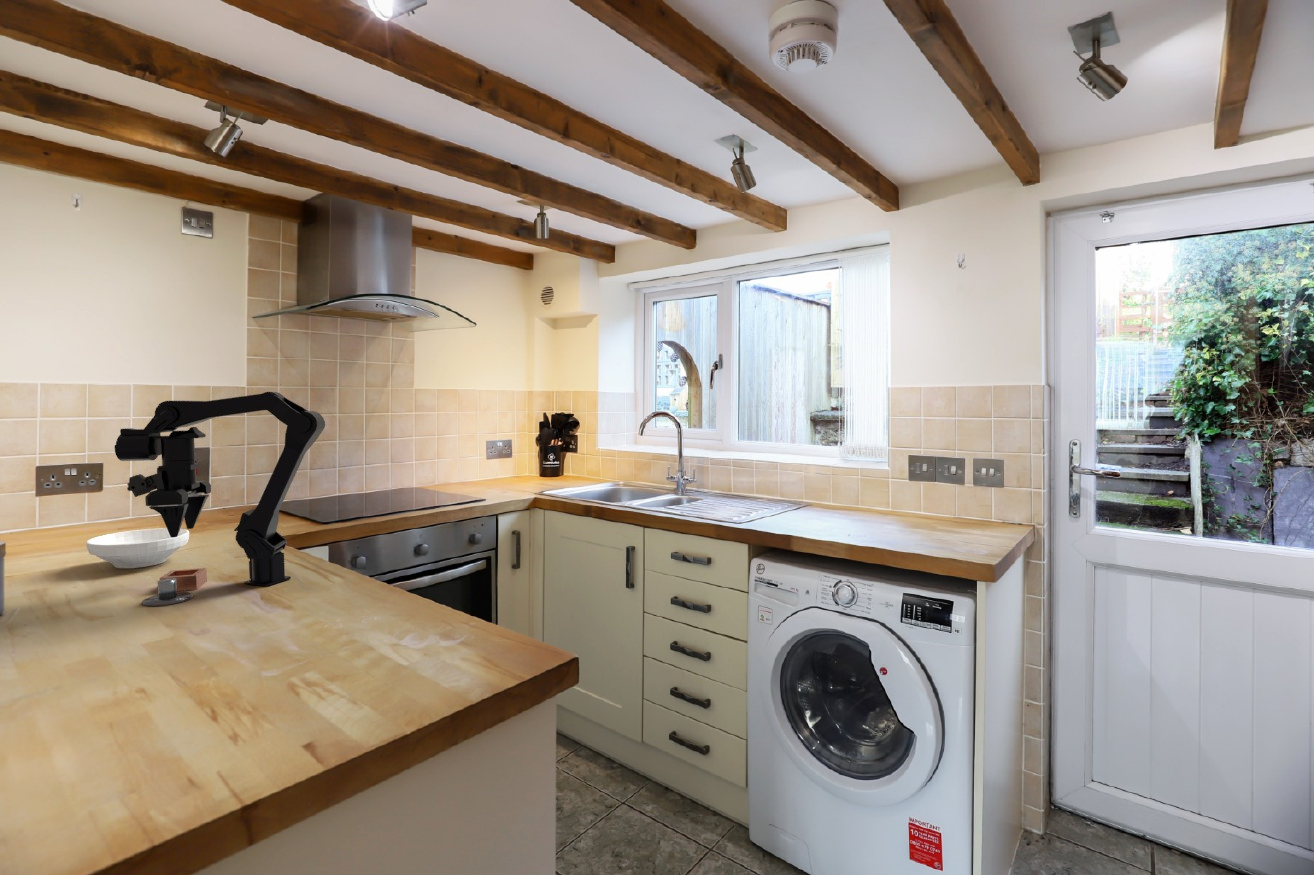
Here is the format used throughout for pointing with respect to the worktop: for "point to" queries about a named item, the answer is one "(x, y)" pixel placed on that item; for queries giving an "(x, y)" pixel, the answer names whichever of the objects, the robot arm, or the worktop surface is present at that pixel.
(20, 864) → the worktop surface
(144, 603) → the disc with centre peg
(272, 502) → the robot arm
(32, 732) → the worktop surface
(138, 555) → the bowl
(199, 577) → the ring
